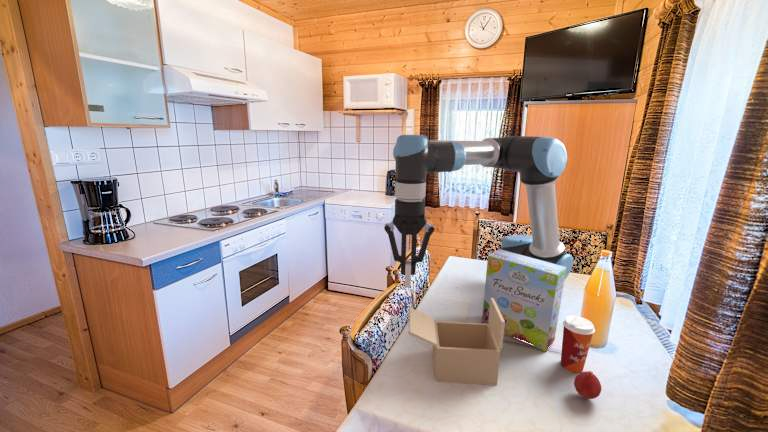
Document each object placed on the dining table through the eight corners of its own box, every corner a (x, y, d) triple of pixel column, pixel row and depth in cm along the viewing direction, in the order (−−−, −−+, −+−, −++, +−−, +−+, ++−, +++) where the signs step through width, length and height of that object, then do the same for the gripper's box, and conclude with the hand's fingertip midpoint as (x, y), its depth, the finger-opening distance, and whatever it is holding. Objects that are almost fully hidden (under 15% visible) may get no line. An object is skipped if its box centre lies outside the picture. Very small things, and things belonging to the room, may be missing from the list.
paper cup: (575, 379, 93) (583, 333, 89) (550, 362, 100) (557, 318, 96) (593, 370, 97) (602, 325, 93) (568, 354, 103) (575, 312, 100)
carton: (486, 353, 103) (489, 323, 101) (496, 385, 91) (500, 352, 88) (432, 350, 104) (433, 320, 102) (434, 381, 92) (436, 348, 89)
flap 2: (488, 321, 100) (491, 321, 100) (498, 348, 88) (502, 348, 88) (490, 297, 98) (493, 297, 98) (501, 321, 86) (505, 321, 86)
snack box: (479, 325, 117) (486, 254, 111) (491, 315, 124) (498, 247, 117) (546, 354, 103) (558, 274, 97) (556, 341, 109) (568, 265, 103)
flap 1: (410, 307, 101) (409, 309, 101) (410, 331, 89) (408, 334, 89) (433, 318, 101) (432, 320, 101) (436, 344, 89) (435, 346, 89)
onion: (567, 389, 89) (571, 363, 87) (588, 388, 90) (593, 362, 88) (581, 407, 84) (586, 379, 82) (603, 406, 84) (609, 378, 82)
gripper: (435, 196, 90) (431, 280, 96) (385, 194, 90) (384, 278, 97) (437, 202, 82) (433, 293, 88) (382, 201, 83) (382, 290, 89)
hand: (407, 285), depth 92 cm, fingers closed
